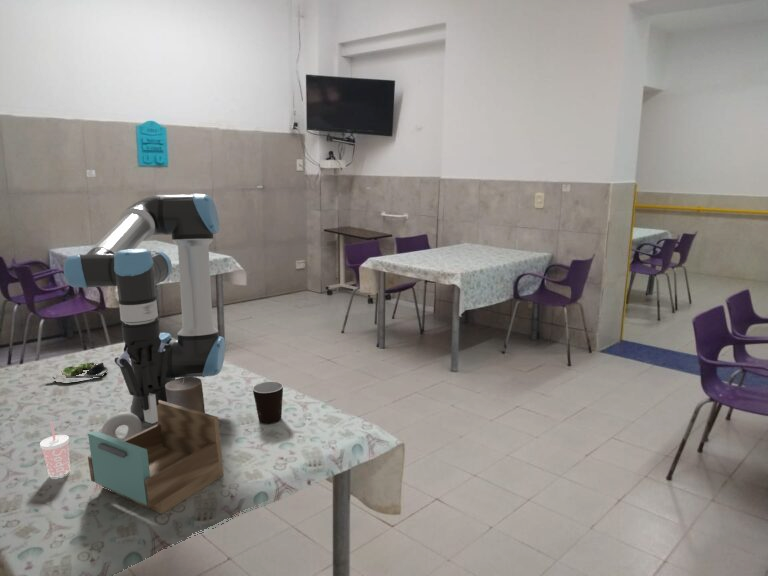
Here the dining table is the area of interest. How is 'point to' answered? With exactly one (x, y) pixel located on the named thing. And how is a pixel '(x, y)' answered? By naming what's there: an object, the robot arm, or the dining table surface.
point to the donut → (122, 419)
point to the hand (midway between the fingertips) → (151, 421)
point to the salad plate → (93, 369)
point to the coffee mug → (268, 401)
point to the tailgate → (119, 465)
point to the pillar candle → (186, 393)
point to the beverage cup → (56, 454)
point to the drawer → (178, 455)
